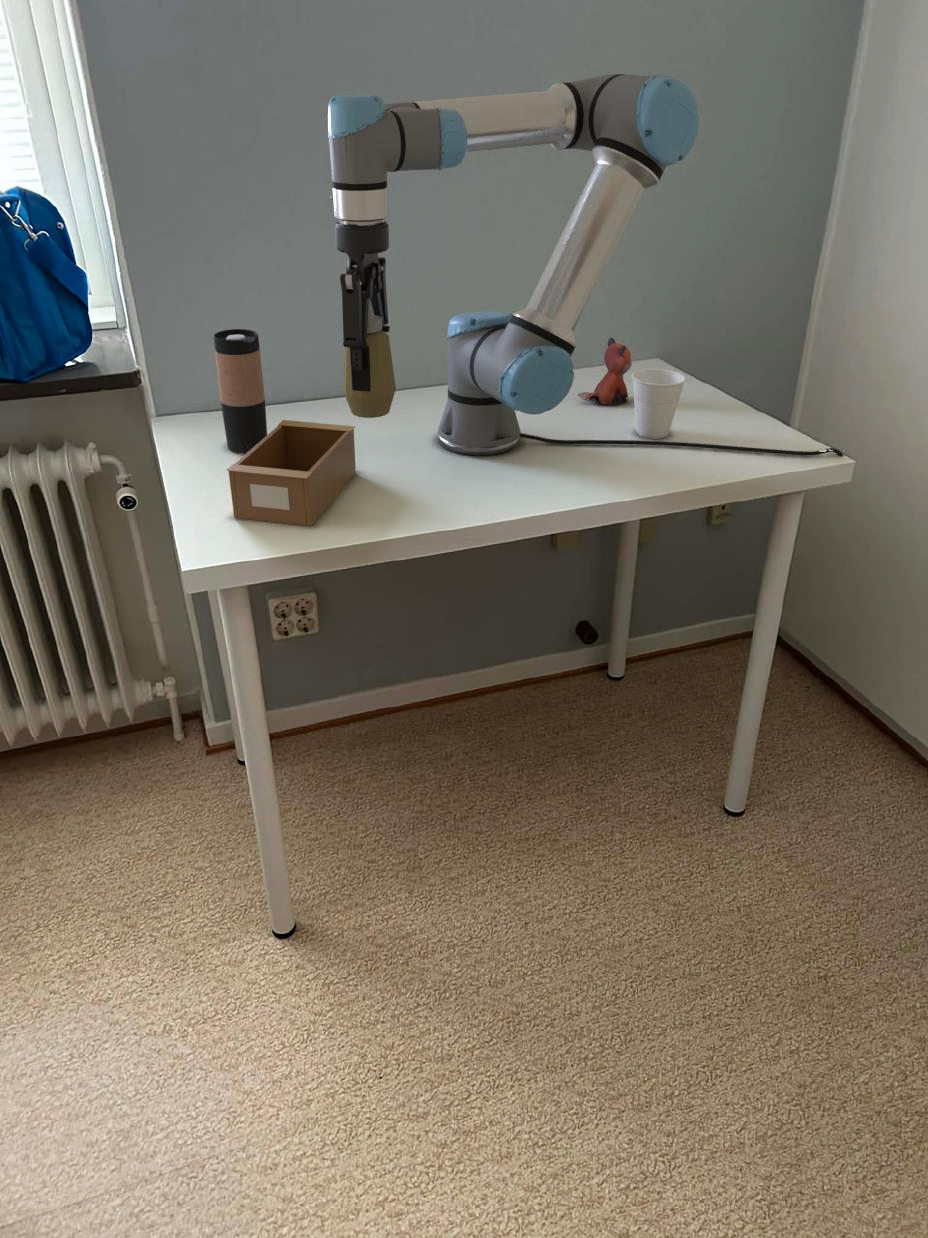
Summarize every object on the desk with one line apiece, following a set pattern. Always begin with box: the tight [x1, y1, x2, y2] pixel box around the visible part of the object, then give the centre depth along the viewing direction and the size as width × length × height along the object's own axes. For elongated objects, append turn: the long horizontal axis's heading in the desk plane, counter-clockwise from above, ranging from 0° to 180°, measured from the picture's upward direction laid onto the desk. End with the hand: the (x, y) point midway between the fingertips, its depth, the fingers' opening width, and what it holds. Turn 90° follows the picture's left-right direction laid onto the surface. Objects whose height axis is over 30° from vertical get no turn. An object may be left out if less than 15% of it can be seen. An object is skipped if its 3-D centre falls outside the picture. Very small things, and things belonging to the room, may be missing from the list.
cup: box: [631, 368, 687, 440], centre depth 179 cm, size 10×10×11 cm
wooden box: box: [225, 419, 357, 527], centre depth 153 cm, size 13×23×8 cm, turn 167°
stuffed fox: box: [577, 337, 632, 406], centre depth 195 cm, size 8×11×12 cm
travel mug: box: [213, 328, 268, 454], centre depth 168 cm, size 8×8×20 cm
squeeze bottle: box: [342, 299, 397, 419], centre depth 144 cm, size 8×8×18 cm
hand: (369, 382), depth 146 cm, fingers closed on squeeze bottle, 6 cm apart
